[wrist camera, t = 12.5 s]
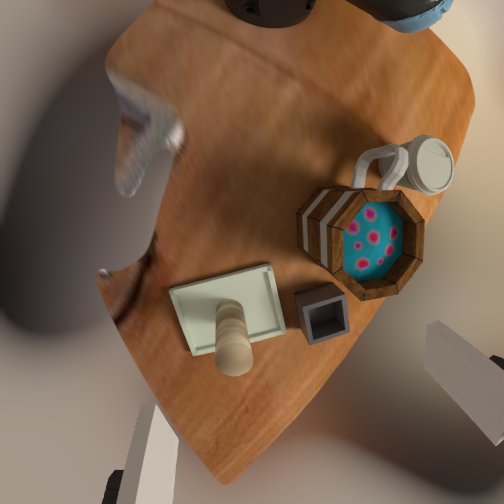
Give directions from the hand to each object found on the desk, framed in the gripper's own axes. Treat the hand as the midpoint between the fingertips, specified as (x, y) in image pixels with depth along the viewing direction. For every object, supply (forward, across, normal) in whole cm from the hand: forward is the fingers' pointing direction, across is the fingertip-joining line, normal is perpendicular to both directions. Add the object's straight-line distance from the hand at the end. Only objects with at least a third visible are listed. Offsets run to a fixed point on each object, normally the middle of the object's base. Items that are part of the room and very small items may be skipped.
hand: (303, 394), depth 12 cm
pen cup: (+34, +9, -14) cm, 37 cm away
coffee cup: (+34, +27, +6) cm, 44 cm away
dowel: (+33, -5, -10) cm, 35 cm away
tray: (+34, -5, -10) cm, 35 cm away
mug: (+34, +16, +1) cm, 38 cm away
